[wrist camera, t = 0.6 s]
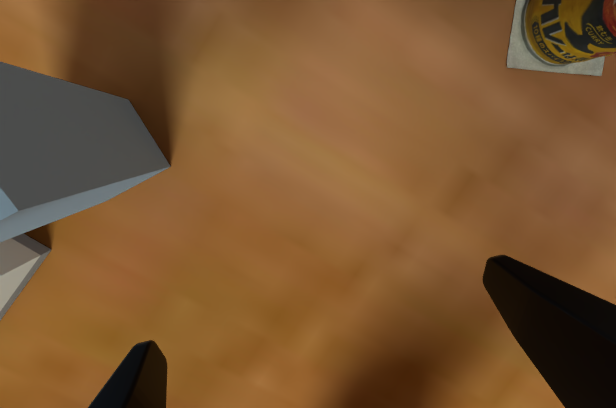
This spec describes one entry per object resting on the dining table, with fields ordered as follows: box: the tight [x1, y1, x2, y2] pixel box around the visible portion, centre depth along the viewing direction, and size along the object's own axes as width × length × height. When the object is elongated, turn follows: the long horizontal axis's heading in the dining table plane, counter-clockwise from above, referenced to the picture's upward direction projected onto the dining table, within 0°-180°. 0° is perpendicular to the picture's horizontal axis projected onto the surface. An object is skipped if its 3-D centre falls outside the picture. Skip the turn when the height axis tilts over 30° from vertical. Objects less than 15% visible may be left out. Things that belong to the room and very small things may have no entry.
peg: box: [0, 62, 171, 242], centre depth 13 cm, size 4×4×13 cm
